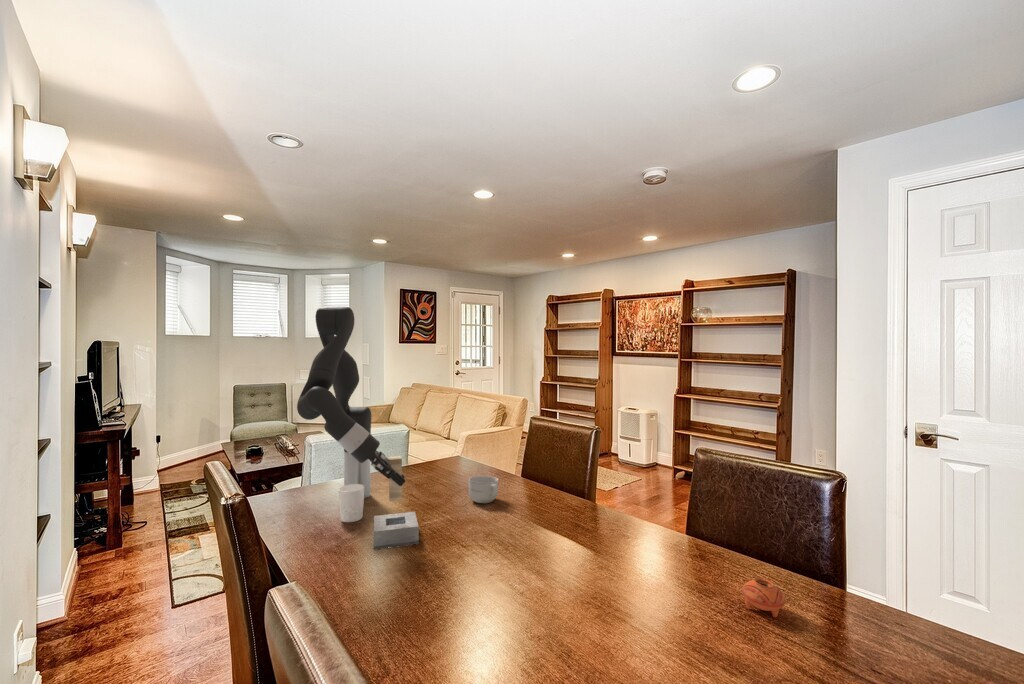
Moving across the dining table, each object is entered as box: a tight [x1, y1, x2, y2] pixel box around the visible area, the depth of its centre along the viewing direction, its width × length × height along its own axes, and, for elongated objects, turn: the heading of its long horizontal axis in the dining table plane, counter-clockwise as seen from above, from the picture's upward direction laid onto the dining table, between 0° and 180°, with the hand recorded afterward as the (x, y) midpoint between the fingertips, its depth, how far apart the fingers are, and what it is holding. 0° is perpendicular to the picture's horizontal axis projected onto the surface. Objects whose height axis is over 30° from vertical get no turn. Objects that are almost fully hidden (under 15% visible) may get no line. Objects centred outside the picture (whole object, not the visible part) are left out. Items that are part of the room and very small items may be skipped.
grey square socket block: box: [373, 511, 420, 550], centre depth 131 cm, size 12×12×5 cm
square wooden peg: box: [388, 455, 403, 503], centre depth 131 cm, size 3×3×12 cm
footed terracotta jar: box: [741, 577, 786, 618], centre depth 95 cm, size 8×8×7 cm
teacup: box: [468, 475, 499, 504], centre depth 162 cm, size 14×11×8 cm
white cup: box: [338, 484, 365, 523], centre depth 147 cm, size 8×8×10 cm
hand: (402, 481), depth 132 cm, fingers closed on square wooden peg, 3 cm apart
